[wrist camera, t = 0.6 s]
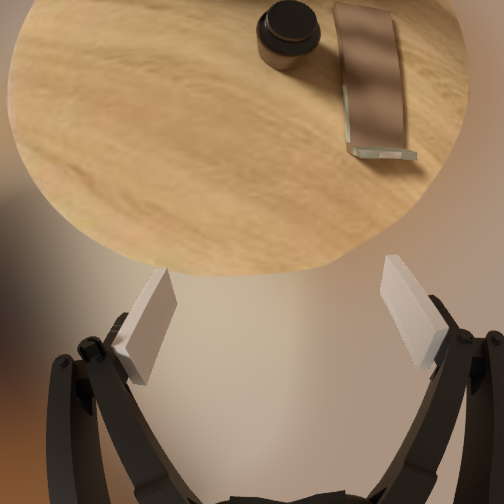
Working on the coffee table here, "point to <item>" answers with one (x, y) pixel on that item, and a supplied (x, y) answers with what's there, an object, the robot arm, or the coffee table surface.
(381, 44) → the rail flange
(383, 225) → the coffee table surface
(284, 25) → the supplement bottle
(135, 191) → the coffee table surface
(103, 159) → the coffee table surface
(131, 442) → the robot arm
